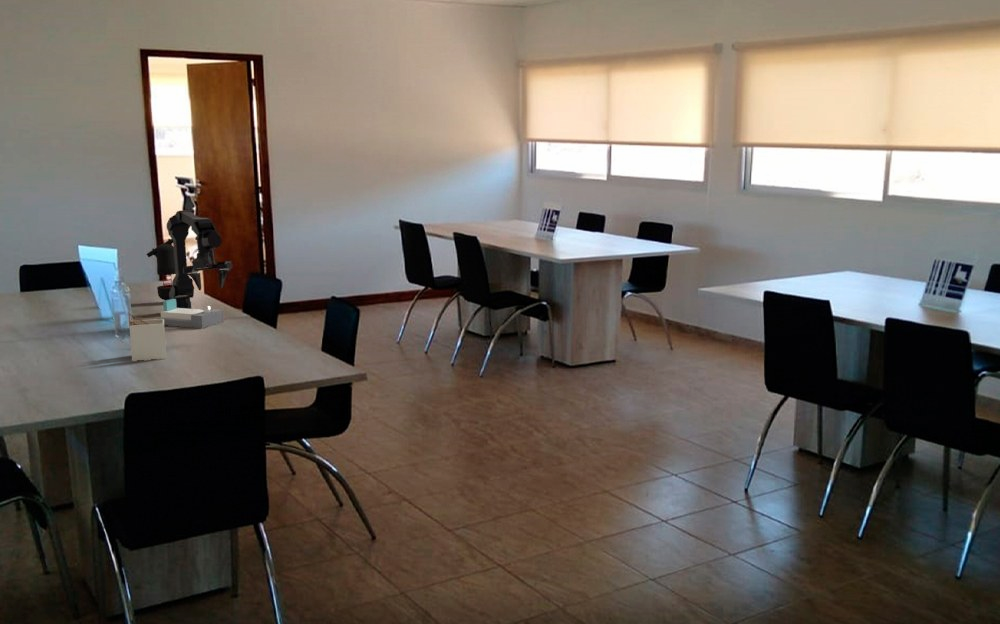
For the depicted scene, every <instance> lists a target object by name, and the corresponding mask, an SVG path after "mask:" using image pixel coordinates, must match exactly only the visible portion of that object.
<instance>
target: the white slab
mask: <svg viewBox="0 0 1000 624" xmlns="http://www.w3.org/2000/svg"><path fill="white" fill-rule="evenodd" d="M162 305H163V310H162V311H160V318H169V319H182V320H191V315H193V314H197V313H200V312H203V309H198V308H191V309H186V308H177V306H176V299H170V300H166V301H165V300H163V301H162Z"/></svg>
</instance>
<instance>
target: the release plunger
mask: <svg viewBox="0 0 1000 624" xmlns="http://www.w3.org/2000/svg"><path fill="white" fill-rule="evenodd" d="M211 308H212V307H211V305H203V306H202V310H203V313H211Z"/></svg>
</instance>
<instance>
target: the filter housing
mask: <svg viewBox="0 0 1000 624" xmlns="http://www.w3.org/2000/svg"><path fill="white" fill-rule="evenodd" d="M157 319H164V326H165V325H168V326H167V327H177V326H179V327H180V328H189V327H194V328H193V329H201V328H203V329H205V327H206V328H208V327H207V326H209V327H211V326H210V325H212V326H214V325H213V324H215V325H217V324H216V323H218V324H221V323H223V322H222V321H224V320H225V319H224V310H223V309H218V308H212V309H211V313H203V312H200V313H197V314H193V315H191V320H182V319H169V318H161V317H159V318H157ZM220 322H221V323H220Z"/></svg>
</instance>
